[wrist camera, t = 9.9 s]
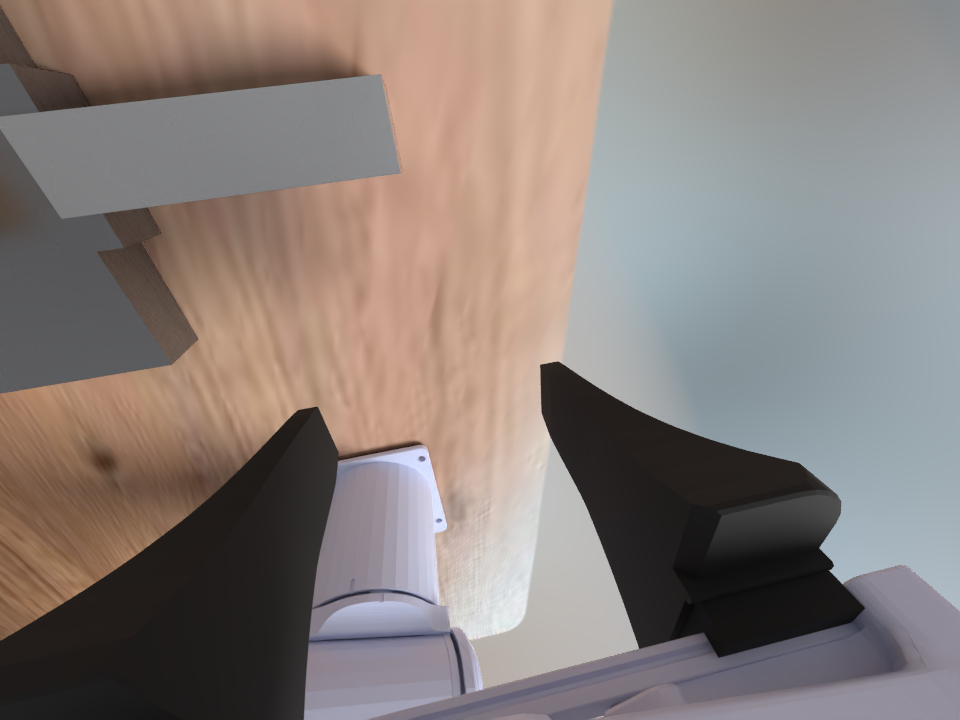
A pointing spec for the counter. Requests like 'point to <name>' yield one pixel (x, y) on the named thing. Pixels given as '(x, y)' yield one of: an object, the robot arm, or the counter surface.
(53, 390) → the counter surface
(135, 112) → the grey mounting plate
